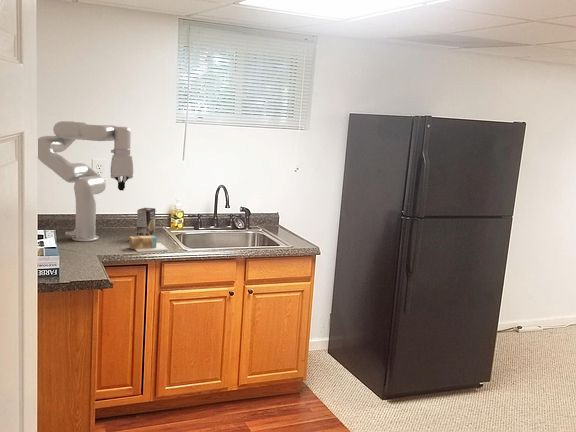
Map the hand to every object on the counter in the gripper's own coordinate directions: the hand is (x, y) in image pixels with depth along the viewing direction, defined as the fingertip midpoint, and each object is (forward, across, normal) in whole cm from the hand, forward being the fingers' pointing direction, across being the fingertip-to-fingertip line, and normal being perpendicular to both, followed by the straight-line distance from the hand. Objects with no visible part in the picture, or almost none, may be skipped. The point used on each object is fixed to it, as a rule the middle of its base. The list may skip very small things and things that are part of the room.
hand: (121, 190), depth 287 cm
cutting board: (+27, +12, -11) cm, 31 cm away
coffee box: (+27, +15, +8) cm, 32 cm away
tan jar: (+24, +2, -11) cm, 26 cm away
